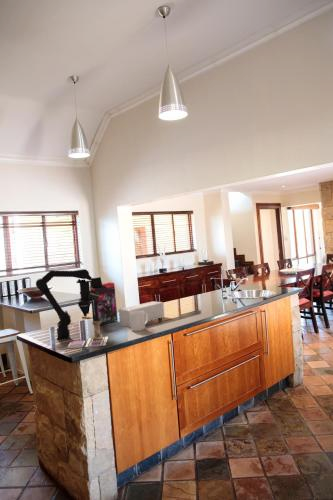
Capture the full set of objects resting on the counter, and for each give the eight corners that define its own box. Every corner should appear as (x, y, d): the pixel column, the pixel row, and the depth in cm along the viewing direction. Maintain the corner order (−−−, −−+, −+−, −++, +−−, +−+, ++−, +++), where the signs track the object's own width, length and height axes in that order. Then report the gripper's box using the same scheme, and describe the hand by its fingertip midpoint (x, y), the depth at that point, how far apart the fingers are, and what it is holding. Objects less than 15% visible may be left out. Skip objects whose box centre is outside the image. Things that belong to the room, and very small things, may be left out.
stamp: (92, 340, 212) (91, 322, 212) (93, 338, 217) (92, 321, 217) (101, 339, 213) (100, 322, 212) (102, 337, 218) (101, 320, 217)
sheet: (84, 347, 201) (84, 346, 201) (89, 338, 219) (89, 337, 219) (105, 345, 202) (105, 344, 202) (108, 336, 220) (108, 336, 220)
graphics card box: (98, 326, 249) (95, 285, 248) (92, 325, 254) (89, 285, 253) (118, 321, 262) (115, 282, 261) (111, 320, 266) (109, 282, 266)
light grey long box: (154, 316, 273) (153, 301, 272) (164, 317, 265) (163, 302, 265) (119, 325, 250) (118, 309, 249) (130, 327, 242) (129, 310, 242)
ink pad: (68, 348, 200) (67, 345, 200) (71, 343, 209) (70, 341, 209) (83, 347, 201) (82, 344, 201) (85, 342, 210) (85, 340, 210)
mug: (136, 332, 225) (135, 314, 225) (128, 330, 232) (127, 312, 232) (152, 328, 233) (151, 310, 233) (143, 326, 240) (142, 309, 240)
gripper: (96, 290, 219) (98, 317, 219) (99, 286, 237) (101, 311, 238) (77, 292, 218) (79, 318, 218) (82, 288, 236) (83, 312, 237)
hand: (86, 315), depth 228 cm, fingers open, 9 cm apart
